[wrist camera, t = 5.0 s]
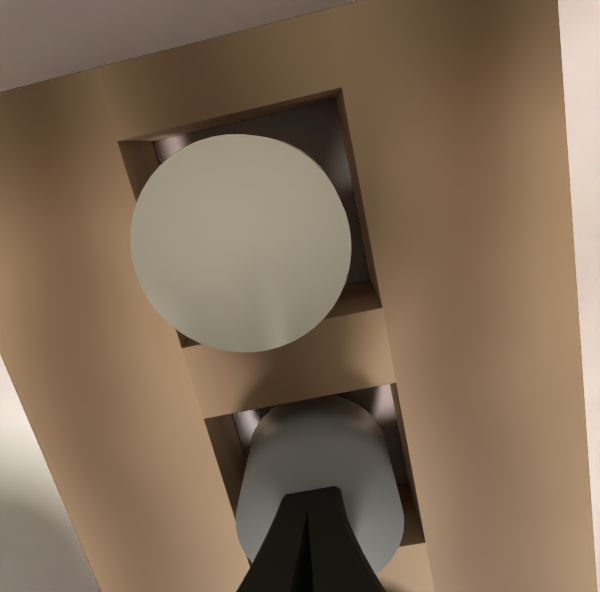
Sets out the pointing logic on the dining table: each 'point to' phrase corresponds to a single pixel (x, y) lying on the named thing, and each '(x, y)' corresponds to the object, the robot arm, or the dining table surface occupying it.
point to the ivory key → (241, 242)
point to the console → (345, 313)
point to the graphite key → (322, 472)
